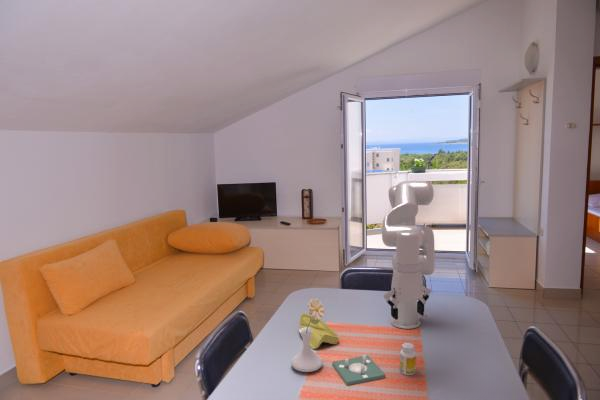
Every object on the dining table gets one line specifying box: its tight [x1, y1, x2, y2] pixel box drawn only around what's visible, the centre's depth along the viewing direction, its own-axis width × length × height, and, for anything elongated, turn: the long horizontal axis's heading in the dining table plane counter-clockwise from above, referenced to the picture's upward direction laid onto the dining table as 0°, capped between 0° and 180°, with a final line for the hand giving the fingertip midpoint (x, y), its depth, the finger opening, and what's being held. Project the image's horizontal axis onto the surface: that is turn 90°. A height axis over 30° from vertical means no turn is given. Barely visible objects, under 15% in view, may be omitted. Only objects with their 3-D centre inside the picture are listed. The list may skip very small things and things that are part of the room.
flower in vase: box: [290, 297, 326, 373], centre depth 155 cm, size 13×11×25 cm
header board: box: [331, 354, 387, 386], centre depth 152 cm, size 14×14×4 cm
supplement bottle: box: [399, 342, 417, 376], centre depth 150 cm, size 5×5×10 cm
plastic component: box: [298, 312, 340, 350], centre depth 179 cm, size 20×7×10 cm
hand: (407, 316), depth 148 cm, fingers open, 9 cm apart
